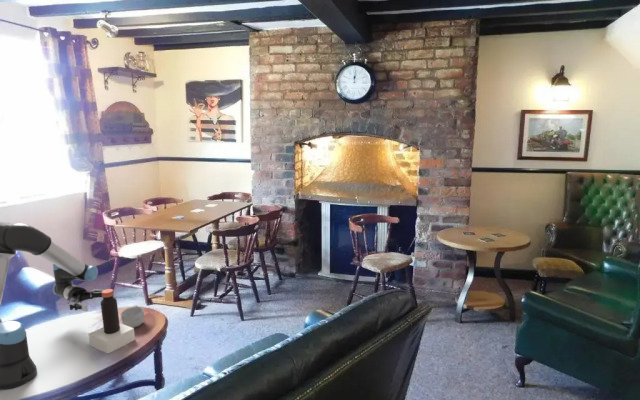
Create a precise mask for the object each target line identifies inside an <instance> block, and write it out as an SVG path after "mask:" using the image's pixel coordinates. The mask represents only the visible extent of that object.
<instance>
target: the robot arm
mask: <svg viewBox="0 0 640 400" xmlns="http://www.w3.org/2000/svg"><path fill="white" fill-rule="evenodd" d="M18 251H20V252H25V253H30V255H31V254H32V255H33V256H40V257H41V258H44V259H45V260H46V261H48V262H50V264H52V267H53V268H52V270H53V276H54V284H53V287H52V293H53V294H54V295H56V296H58V297H59V298H64V299H66V300H67V304H68V305H69V310H70V311H72V310H74V311H78V310H80V311H81V310H82V311H84V312H88V305H87V304H84V303H82V302H84V301H87V300H92V299H95V298H102V291H103V290H104V289H96V288H93V289H91V290H90V291H88V290H87V289H85V288H84V287H81V286H79V285H77V284H74V283H73V281H84V282H88V281H89V282H93V281H95V280H96V279H97V276H99V269H98V267H97V266H95V265H91V264H89V265H88V264H86V263H84V261H82V260H80V259H79V258H77V256H74V255H73V254H71V253H70V252H68V251H67V250H65V249H64V248H62V247H61V246H59V245H58V244H56V243H55V242H54V241H52V238H51V237H50V236H49V235H48V234H46V233H44V232H43V231H42V230H39V229H38V228H36V227H34V226H31V225H30V224H26V223H19V222H18V223H17V222H15V223H14V222H3V221H2V222H0V306H1V305H2V299H3V295H4V290H5V286H6V279H7V276H8V275H7V274H8V270H9V265H10V262H11V261H10V260H11V259H12V258H13V257H15V256H16V252H18ZM113 297H114V298H115V295H114V296H113ZM73 303H74V304H73ZM27 337H28V336H27V331H26V329H25V325H24V323H22V322H20V321H16V320H7V321H3V319H2V318H0V390H8V389H9V390H10V389H13V388H17V387H20V386H22V385H24V384H27V383H28V382H30V381H31V380H33V379H34V378H36V376H37V374H38V369H37V368H38V367H37V366H36V364H35V362H34V361H33V359H32V358H31V356H30V350H29V345H28V338H27Z"/></svg>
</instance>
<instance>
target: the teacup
mask: <svg viewBox="0 0 640 400" xmlns="http://www.w3.org/2000/svg"><path fill="white" fill-rule="evenodd" d="M119 316H120V318H121V321H122V323H121V324H124V325H126V326H129V327H132V328H134V329H135V328H138V327H140V326H141V325H142V324H143V323H144V321H145V311H144V308H143V307H142V306H138V305H134V306H132V307H128V308H126V309H124V310H122V311H121V312H120V315H119Z"/></svg>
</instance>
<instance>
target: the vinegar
mask: <svg viewBox="0 0 640 400" xmlns="http://www.w3.org/2000/svg"><path fill="white" fill-rule="evenodd" d="M102 290H103V291H102V297H101V298H102V300H101V301H100V309H101V316H102V326H103V327H104V332H105V333H106V334H112V333H116V332H118V331H119V330H120V324H119V323H120V317H119V316H120V315H119V308H118V307H119V306H118V299H117V298H116V297H115V293H114V289H112V288H106V289H102ZM113 296H114V297H113ZM103 327H102V328H103Z"/></svg>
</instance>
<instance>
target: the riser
mask: <svg viewBox="0 0 640 400" xmlns="http://www.w3.org/2000/svg"><path fill="white" fill-rule="evenodd" d="M119 324H120V330H119V331H118V332H116V333H112V334H106V333H105V332H104V327H100V328H99V329H96V330H94V331H92V332H90V333H88V343H89V347H92V348H94V349H96V350H99V351H101V352H103V353H105V354H110V353H112V352H114V351H116V350H118V349H120V348H123V347H124V346H127V345H128V344H130V343H132V342H133V341H136V336H135V328H132V327H129V326H126V325H124V324H123V323H121V322H119Z"/></svg>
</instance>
